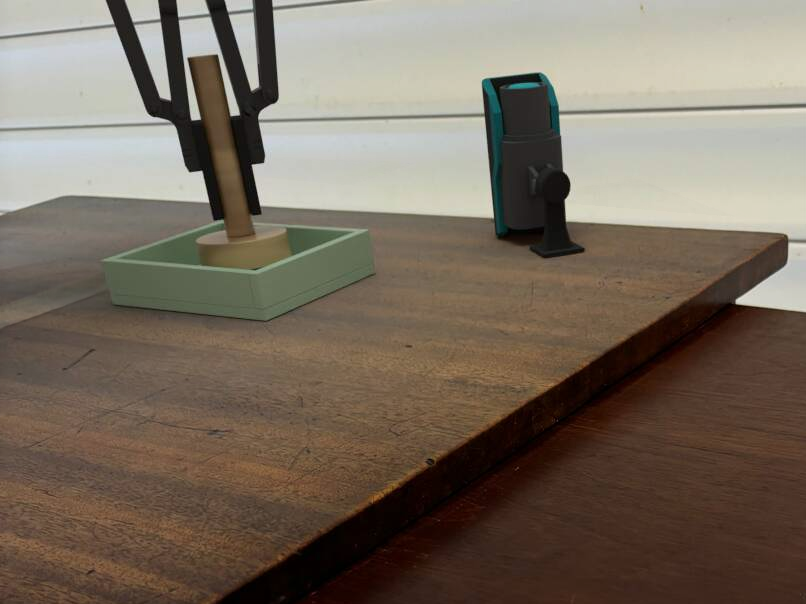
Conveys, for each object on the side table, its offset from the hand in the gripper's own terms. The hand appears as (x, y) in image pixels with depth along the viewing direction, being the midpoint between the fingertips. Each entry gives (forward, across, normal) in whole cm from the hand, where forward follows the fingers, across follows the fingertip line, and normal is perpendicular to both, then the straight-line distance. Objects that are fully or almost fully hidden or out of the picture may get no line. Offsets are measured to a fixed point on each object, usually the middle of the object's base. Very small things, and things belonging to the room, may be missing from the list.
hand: (236, 213), depth 90 cm
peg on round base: (+4, 0, -1) cm, 4 cm away
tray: (+5, 0, -1) cm, 5 cm away
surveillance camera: (+6, +25, +1) cm, 25 cm away
